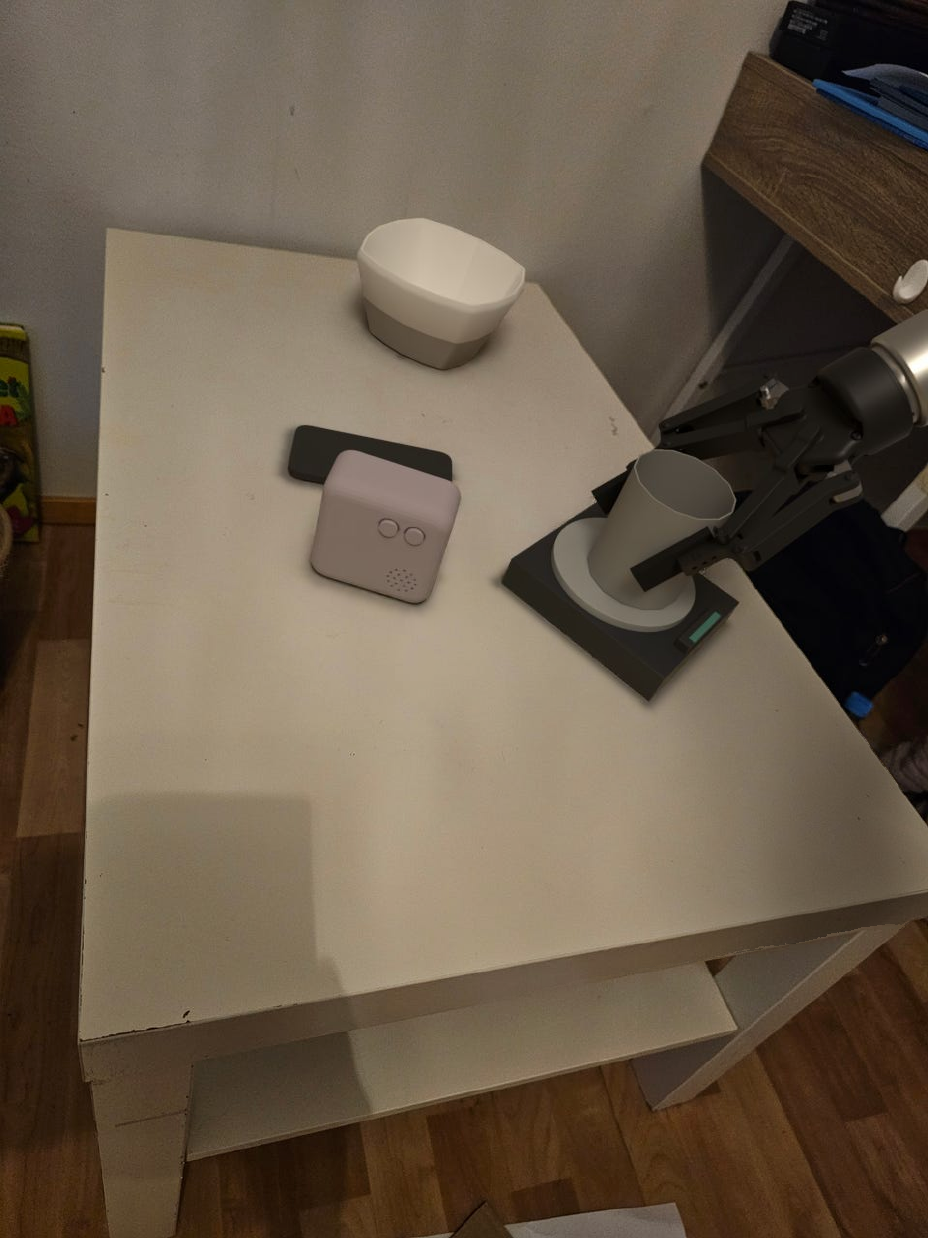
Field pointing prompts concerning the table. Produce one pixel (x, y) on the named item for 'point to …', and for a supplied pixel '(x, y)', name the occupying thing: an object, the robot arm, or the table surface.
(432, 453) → the phone
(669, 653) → the scale
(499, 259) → the bowl
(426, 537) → the electronic device
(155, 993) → the table surface
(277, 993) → the table surface
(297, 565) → the table surface
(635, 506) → the cup
